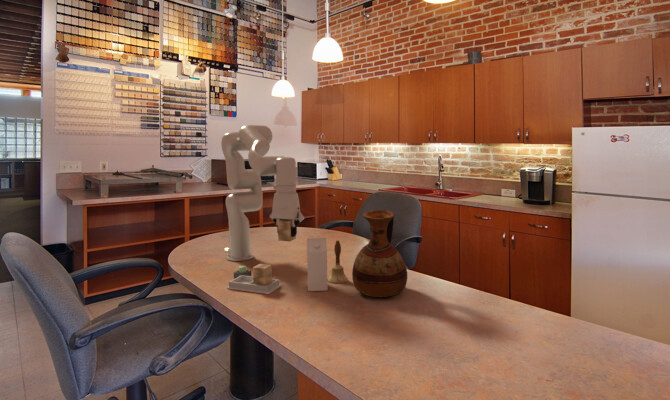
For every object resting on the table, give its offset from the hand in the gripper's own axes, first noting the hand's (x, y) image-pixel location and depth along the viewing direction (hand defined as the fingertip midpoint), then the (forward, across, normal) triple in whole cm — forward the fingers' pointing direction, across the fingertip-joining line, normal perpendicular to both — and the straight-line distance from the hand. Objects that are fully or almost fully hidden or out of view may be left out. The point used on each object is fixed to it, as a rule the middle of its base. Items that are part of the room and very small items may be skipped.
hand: (287, 235), depth 155 cm
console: (+19, -18, -4) cm, 26 cm away
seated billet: (+18, -4, -11) cm, 22 cm away
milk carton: (+18, +15, -4) cm, 24 cm away
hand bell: (+18, +19, +7) cm, 27 cm away
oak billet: (+2, 0, 0) cm, 2 cm away
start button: (+18, -18, -4) cm, 26 cm away
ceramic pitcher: (+18, +38, -1) cm, 42 cm away
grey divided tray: (+18, -8, -11) cm, 23 cm away
